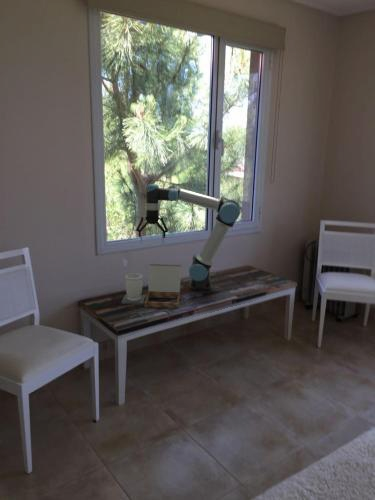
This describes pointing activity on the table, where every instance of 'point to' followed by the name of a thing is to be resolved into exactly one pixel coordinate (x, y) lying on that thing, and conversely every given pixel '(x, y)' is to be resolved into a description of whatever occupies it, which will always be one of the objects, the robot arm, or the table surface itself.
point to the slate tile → (139, 302)
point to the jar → (134, 286)
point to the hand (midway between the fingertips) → (152, 242)
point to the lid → (164, 278)
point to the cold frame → (162, 304)
